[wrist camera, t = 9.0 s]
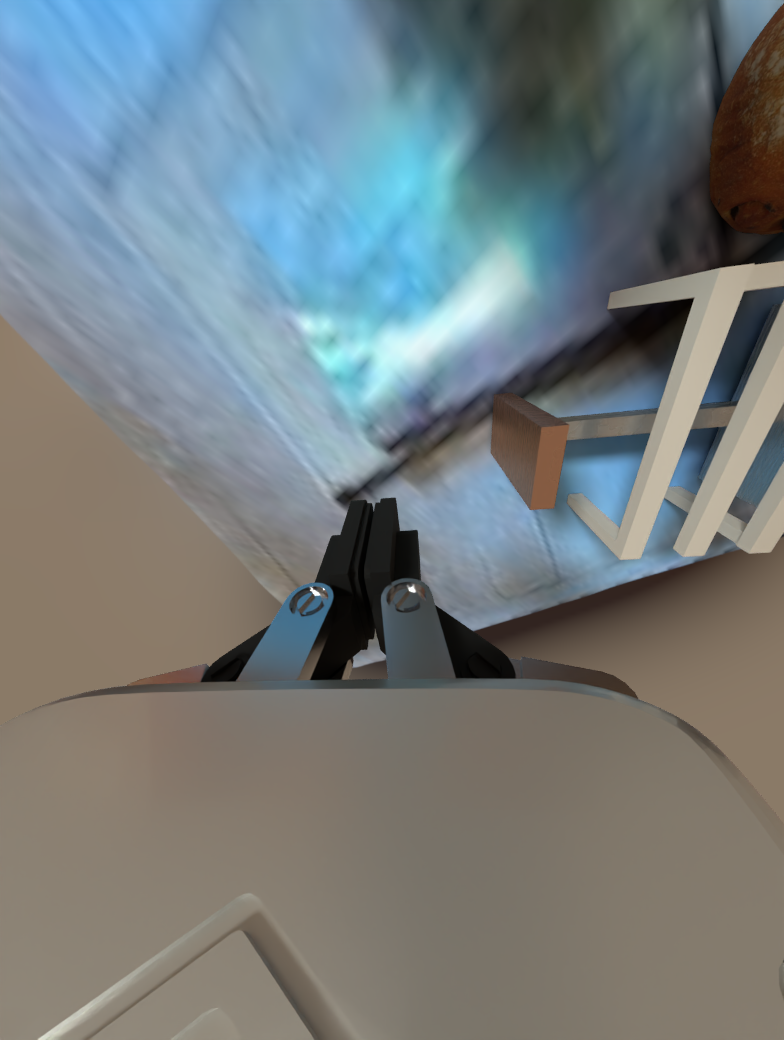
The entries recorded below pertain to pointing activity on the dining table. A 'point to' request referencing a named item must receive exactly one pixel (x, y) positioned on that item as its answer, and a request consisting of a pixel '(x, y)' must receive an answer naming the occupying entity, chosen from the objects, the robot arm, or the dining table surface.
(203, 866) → the robot arm
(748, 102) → the bread roll
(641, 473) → the white slatted rack
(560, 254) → the dining table surface
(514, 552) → the dining table surface
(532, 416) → the rod with wooden block
